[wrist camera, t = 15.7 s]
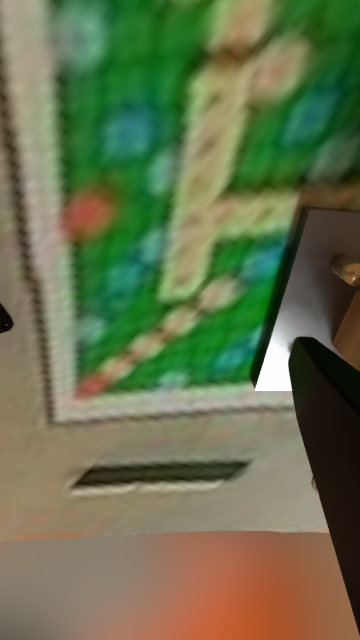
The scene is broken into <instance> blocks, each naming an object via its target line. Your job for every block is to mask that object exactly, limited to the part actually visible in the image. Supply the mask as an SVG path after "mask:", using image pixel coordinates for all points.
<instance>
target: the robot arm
mask: <svg viewBox="0 0 360 640" xmlns="http://www.w3.org/2000/svg"><path fill="white" fill-rule="evenodd" d="M3 323H6V324H7V325H8V326H7V325H5V324H3ZM13 325H14V323H13V321H12V320H11V318H10V317H9V316H8V315H7V313H6V312H5V311H4V309H3V308H2V307H1V305H0V333H3V332H6V331H9V330H11V328H12V327H13ZM288 370H289V376H290V382H291V388H292V394H293V400H294V406H295V412H296V417H297V421H298V425H299V429H300V432H301V436H302V439H303V443H304V446H305V449H306V453H307V456H308V460H309V463H310V467H311V470H312V473H313V477H314V480H315V484H316V487H317V491H318V494H319V498H320V501H321V504H322V508H323V511H324V515H325V518H326V522H327V525H328V528H329V532H330V535H331V539H332V542H333V545H334V549H335V552H336V555H337V559H338V563H339V566H340V570H341V573H342V576H343V580H344V583H345V586H346V590H347V593H348V597H349V600H350V604H351V607H352V611H353V614H354V618H355V621H356V625H357V628H358V631H359V635H360V371H359V370H357V369H356V368H355V367H353V366H352V365H350V364H349V363H348V362H346V361H345V360H344V359H342V358H341V357H340V356H338V355H337V354H336V353H334V352H333V351H332V350H330V349H329V348H327V347H326V346H325V345H323V344H322V343H321V342H319V341H318V340H317V339H315V338H314V337H305V336H298V337H296V339H295V340H294V343H293V346H292V350H291V353H290V356H289V359H288Z"/></svg>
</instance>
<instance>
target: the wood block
mask: <svg viewBox="0 0 360 640" xmlns="http://www.w3.org/2000/svg"><path fill="white" fill-rule="evenodd" d="M332 345H333V346H334V347H335V348H336V349H337V351H338V352H339V353H340V354H341V355H342V356H343V358H344V359H345V360H346V361H347V362H348V363H349V364H350V365H352V366H353V367H355V368H356V369H357V370H359V371H360V291H356V294H355V296H354V298H353V300H352V302H351V304H350V306H349V308H348V311H347V313H346V315H345V317H344V319H343V321H342V323H341V325H340V327H339V330H338V332H337V334H336V336H335V338H334V340H333V342H332Z"/></svg>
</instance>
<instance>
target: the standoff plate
mask: <svg viewBox="0 0 360 640" xmlns="http://www.w3.org/2000/svg"><path fill="white" fill-rule="evenodd" d="M356 291H360V210H348V209H333V208H319V207H304V206H303V209H302V212H301V216H300V219H299V222H298V226H297V229H296V233H295V236H294V240H293V243H292V247H291V250H290V254H289V257H288V260H287V264H286V267H285V271H284V274H283V278H282V281H281V285H280V288H279V291H278V295H277V298H276V302H275V305H274V309H273V312H272V316H271V319H270V323H269V326H268V329H267V333H266V336H265V340H264V343H263V347H262V350H261V354H260V357H259V360H258V364H257V367H256V371H255V374H254V378H253V381H252V384H253V386H254V389H255V390H292V388H291V382H290V376H289V370H288V359H289V356H290V353H291V350H292V346H293V343H294V340H295V339H296V337H298V336H305V337H314V338H315V339H317V340H318V341H319V342H321V343H322V344H323V345H325V346H326V347H327V348H329V349H330V350H332V351H333V352H334V353H336V354H337V355H338V356H340V357H341V358H342V359H344V358H343V356H342V355H341V354H340V353H339V352H338V351H337V349H336V348H335V347H334V346H333V345H332V342H333V340H334V338H335V336H336V334H337V332H338V330H339V327H340V325H341V323H342V321H343V319H344V317H345V315H346V313H347V311H348V308H349V306H350V304H351V302H352V300H353V298H354V296H355V294H356ZM344 360H345V359H344ZM345 361H346V360H345ZM346 362H347V361H346Z"/></svg>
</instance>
